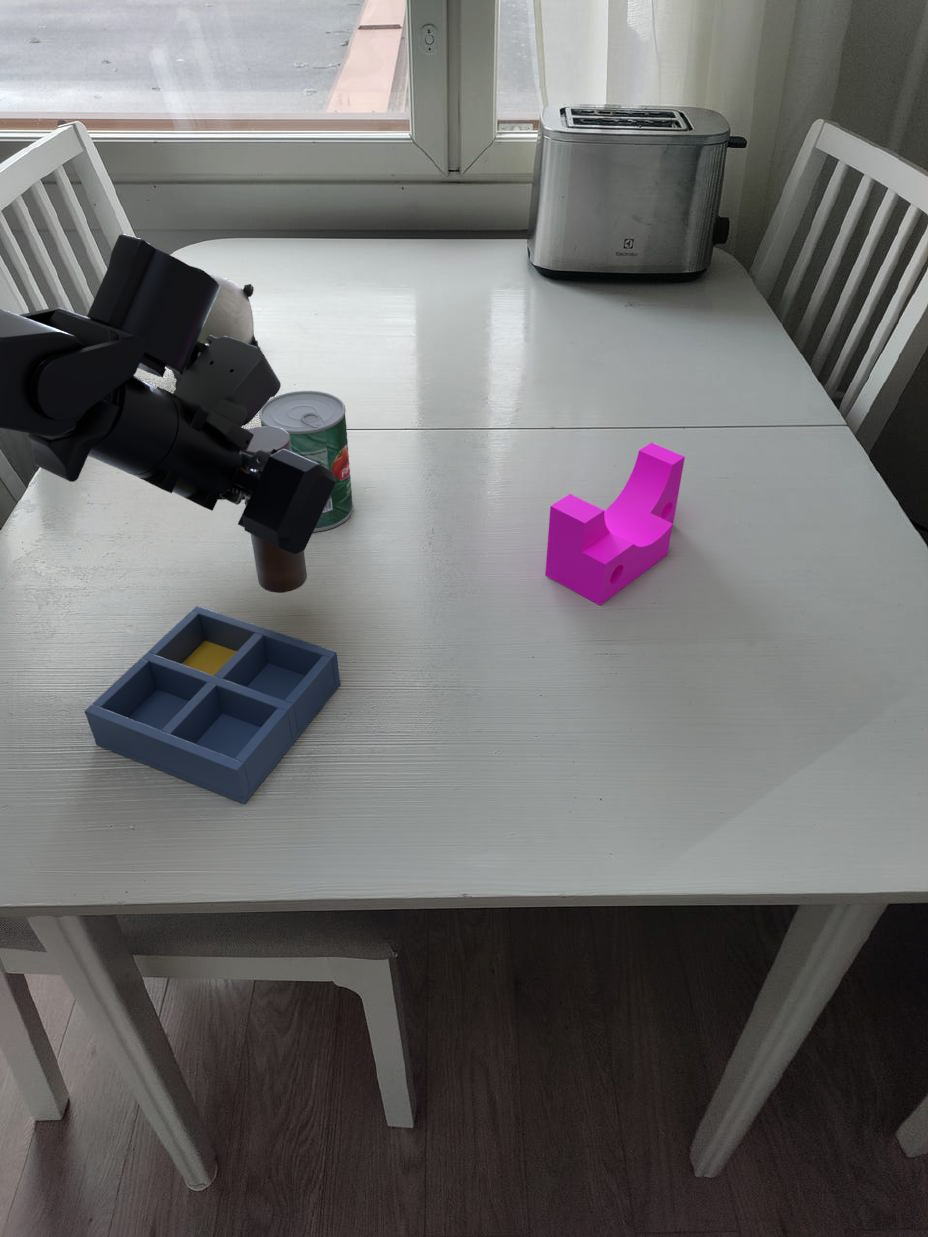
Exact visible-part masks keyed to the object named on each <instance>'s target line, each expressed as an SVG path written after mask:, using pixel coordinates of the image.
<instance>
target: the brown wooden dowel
mask: <svg viewBox="0 0 928 1237" xmlns="http://www.w3.org/2000/svg"><path fill="white" fill-rule="evenodd" d="M246 430H247V431H249V432H251V433H252V434H254V436H253V438H252V440H251V442H250V444H249V447H248V449H247V450H242V449H241V452H243V453H246V454H248V455H250V456H252V455H253V454H254V453H255V452H257V451H259V450H263V451H265V452H268V453H270V454H271V452H272V450H273V448H274V449H276V450H279V451H280V450H282V449H285V450H288V451H290V452H292V449H291V441H290V435H289V434H288V433H287V432H286V431H285V430H283V429H281V428H278V427H272V426H261V425H260V426H255V427H251V428H248V429H246ZM252 470H255V469H253V468H252ZM240 471H243V472H245V473H247V474H249V471H248V470H246V469H244V468H242V467H241V468H240ZM255 471H257V470H255ZM246 499H248V498H247V497H245V500H246ZM245 500H244V501H245ZM249 534H250V539H251V544H252V552H253V557H254V563H255V569H256V570H255V571H256V575H257V581H258V584H259V586H260V587H261V588H262V589H264V590H265V591H267V592H271V593H275V594H276V593H277V594H283V593H289V592H293V591H295V590H298V589H299V588H301V587H302V586H304V584H305V583H306V581H307V579H308V572H307V571H308V570H307V563H306V556H305V550H304V551H302V552H300V553H297V554H293V553H290V552H288V551H286V550H283V549H281V548H279V547H277V546H275V545H273V544H271V543H269V542H267V541H265V540H263V539H261V538H259V537H257V536H255V535H253V534H251V533H249Z"/></svg>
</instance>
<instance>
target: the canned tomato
mask: <svg viewBox="0 0 928 1237" xmlns="http://www.w3.org/2000/svg"><path fill="white" fill-rule="evenodd" d="M346 413H347V412H346V405H345V404H344V402H343V401H342V399H341V398H339V397H338V396H335V395H333V394H330V393H328V392H325V391H324V392H323V391H317V390H297V391H296V390H295V391H290V392H286V393H283V394H279V395H276V396H274V397H271V398H270V399H269V400H268V401H267V402H266V404H265V405H264V406H263V407H262V408H261V410H260V411H259V412H258V416H259V417H258V418H259V421H260V427H261V426H272V427H278V428H281V429H283V430H285V431H286V432H287V433H288V434H289V435H290V441H291V449H292V453H295V454H297V455H299V456H302V457H304V458H306V459H308V460H311V461H313V462H315V463H318V464H320V465H321V466H323V467H325V468H327V469H328V470H330V471H332V472H333V473H334V475H335V479H336V485H335V487H334V489H333V491H332V493H331V495H330V497H329V499H328V502H327V504H326V506H325V508H324V510H323V512H322V514H321V516H320V519H319V521H318V523H317V525H316V527H315V529H314V531H313V533H316V532H323V531H327V530H331V529H334V528H336V527H339V526H340V525H341V524H343V523H344V522H346V521H347V520H348V519H349V518H350V517H351V516H352V513H353V512H354V503H353V490H352V481H351V479H352V478H351V467H350V463H351V462H350V454H349V444H348V443H349V442H348V430H347V428H348V427H347V419H346Z"/></svg>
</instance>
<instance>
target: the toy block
mask: <svg viewBox="0 0 928 1237" xmlns="http://www.w3.org/2000/svg"><path fill="white" fill-rule="evenodd" d="M685 458H686V456H684V455H681V454H680V453H678V452H675V451H672V450H670V449H668V448H665V447H663V446H660V445H658V444H656V443H654V442H650V443H648V444H647V445H645V446H644V447H642V448H641V449H639V450H638V452H637V457H636V460H635V463H634V465H633V468H632V471H631V473H630V476H629V478H628V480H627V482H626V483H625V485H624V486H623V488H622V490H621V492H619V494H618V496H617V497H616V499H615V500H614V501H613V502H612V503H611V505H609V506H608V507H607V508H606V509H605V510H604V509H602V508H600V507H598V506H596V505H594V504H592V503H590V502H588V501H586V500H583V499H581V498H580V497H578V496H576V495H573V494H571V493H569V494H567V495H565V496H564V497H563V498H561V499H559V500H558V501H556V502H555V503H553V504H551V505H550V507H549V519H548V531H547V532H548V534H547V544H546V548H547V549H546V558H545V559H546V560H545V561H546V562H545V572H544V575H545V576H546V577H548V578H549V579H551V580H553V581H555V582H556V583H559V584H560V585H562V586H564V587H566V588H567V589H569V590H571V591H573V592H575V593H576V594H579V595H580V596H582V597H584V598H586V599H588V600H589V601H591V602H593V603H594V604H597V605H598V606H601V605H603V604H604V603H605V602H607V601H609V599H611V598H613V596H615V595H616V594H617V593H619V592H620V591H622V590H623V589H624V588H626V587H627V586H628V585H630V584H631V583H632V582H633V581H635V580H636V579H637V578H639V577H640V576H642V575H643V574H644V573H645V572H648V570H650V569H651V568H652V567H653V566H655V565H656V564H658V563H659V562H661V560H662V559H664V558H665V557H667V556H668V553H669V549H670V541H671V536H672V532H673V525H674V523H675V522H674V521H675V515H676V510H677V504H678V498H679V492H680V488H681V481H682V476H683V472H684V471H683V470H684V465H685Z"/></svg>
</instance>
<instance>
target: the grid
mask: <svg viewBox="0 0 928 1237" xmlns="http://www.w3.org/2000/svg"><path fill="white" fill-rule="evenodd" d="M338 660H339V659H338V652H337V651H336V650H332V649H329V648H326V647H323V646H321V645H320V646H319V645H317V644H315V643H311V642H308V641H305V640H302V639H299V638H296V637H293V636H290V635H286V634H284V633H280V632H278V631H274V630H272V629H270V628H266V627H262V626H259V625H257V624H253V623H251V622H248V621H245V620H241V619H238V618H236V617H232V616H229V615H226V614H223V613H220V612H217V611H214V610H212V609H209V608H205V607H201V606H198V605H196V606H195V607H194V608H193V609H192V610H191V611H190V612H188V613H187V614H186V615H185V616H184V617H183V618H182V619H181V620H180V621H178V623H176V624H175V626H174V627H173V628H171V629H170V630H169V631H168V632H167V633H166V634H165V635H164V636H162V638H160V639H159V641H157V642H156V643H155V645H153V646H152V647H151V648H149V650H148V651H147V652H146V653H145V654H144V655H143V656H142V657H141V658H139V659H138V660H137V661H136V662H135V663H134V664H133V665H132V666H131V667H130V668H129V669H127V671H125V672H124V673H123V674H122V675H121V676H120V677H119V678H118V679H117V680H116V681H115V682H114V683H112V684H111V686H109V687H108V688H107V689H106V690H105V691H104V692H103V693H102V694H101V695H100V696H98V697H97V699H96V700H95V701H93V702H92V703H91V704H90V705H89V706H88V707H87V708H86V709H85V710H84V714H85V716H86V720H87V722H88V725H89V728H90V730H91V733H92V736H93V739H94V742H95V744H96V746H99V747H101V748H104V749H105V750H106V749H107V751H112V752H114V753H116V754H118V755H121V756H123V757H126V758H129V759H130V760H134V761H136V762H138V763H140V764H143V765H146V766H148V767H151V768H153V769H156V770H159V771H161V772H163V773H166V774H168V775H171V776H173V777H175V778H178V779H181V780H184V781H185V782H188V783H190V784H193V785H196V786H198V787H200V788H202V789H205V790H208V791H210V792H213V793H216V794H218V795H221V796H223V797H226V798H228V799H230V800H233V801H235V802H238V803H240V804H243V805H245V804H246V803H247V802H248V801H249V800H250V799H251V797H252V796H253V794H254V793H255V792H256V791H257V790H258V788H259V787H260V786H261V785H262V784H263V783H264V781H265V780H266V778H267V777H268V776H269V775H270V773H271V772H272V771H273V769H275V767H276V766H277V765H278V764H279V762H280V761H281V760H282V759H283V757H284V756H285V755H286V753H287V752H288V751H289V750H290V748H291V747H292V746H293V745H294V743H295V742H296V741H297V740H298V739H299V737H300V736H301V735H302V734H303V732H304V731H305V730H306V729H307V727H308V726H309V725H310V724H311V722H313V720H314V719H315V718H316V716H317V715H318V714H319V713H320V712H321V710H322V709H323V707H324V706H325V705H326V704H327V703H328V702H329V700H331V698H332V696H333V695H334V694H335V693H336V692H337V690H338V689H339V688H340V686H341V678H340V668H339V661H338Z"/></svg>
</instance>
